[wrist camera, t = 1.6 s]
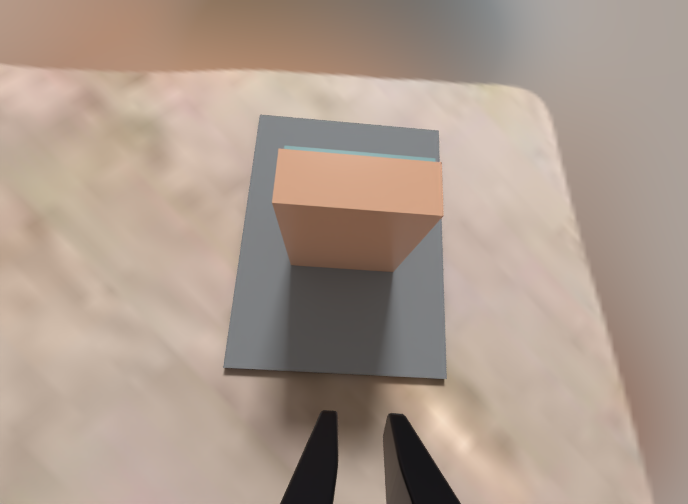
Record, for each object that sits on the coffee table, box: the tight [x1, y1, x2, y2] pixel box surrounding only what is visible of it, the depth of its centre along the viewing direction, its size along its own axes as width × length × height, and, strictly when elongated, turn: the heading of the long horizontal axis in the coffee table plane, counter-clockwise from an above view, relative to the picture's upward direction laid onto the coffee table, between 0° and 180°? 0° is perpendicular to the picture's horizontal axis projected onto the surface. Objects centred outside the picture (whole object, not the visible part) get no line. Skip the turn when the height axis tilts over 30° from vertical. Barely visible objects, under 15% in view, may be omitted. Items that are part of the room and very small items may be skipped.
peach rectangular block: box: [272, 146, 443, 272], centre depth 19 cm, size 3×7×10 cm, turn 87°
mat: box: [223, 115, 447, 379], centre depth 25 cm, size 18×14×1 cm
